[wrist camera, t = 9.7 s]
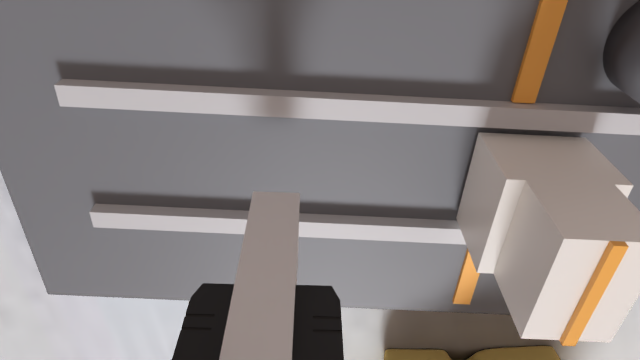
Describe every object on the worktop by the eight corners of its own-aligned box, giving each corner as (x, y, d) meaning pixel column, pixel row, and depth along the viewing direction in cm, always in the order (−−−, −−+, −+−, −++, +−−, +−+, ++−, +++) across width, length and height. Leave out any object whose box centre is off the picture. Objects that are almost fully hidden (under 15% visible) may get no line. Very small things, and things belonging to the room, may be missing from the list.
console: (67, 265, 24) (29, 322, 21) (-52, -87, 16) (-146, -79, 12) (598, 289, 25) (637, 348, 22) (771, -41, 16) (879, -22, 13)
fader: (456, 218, 19) (503, 343, 14) (478, 132, 17) (544, 242, 12) (551, 222, 19) (633, 348, 14) (585, 137, 17) (697, 249, 12)
